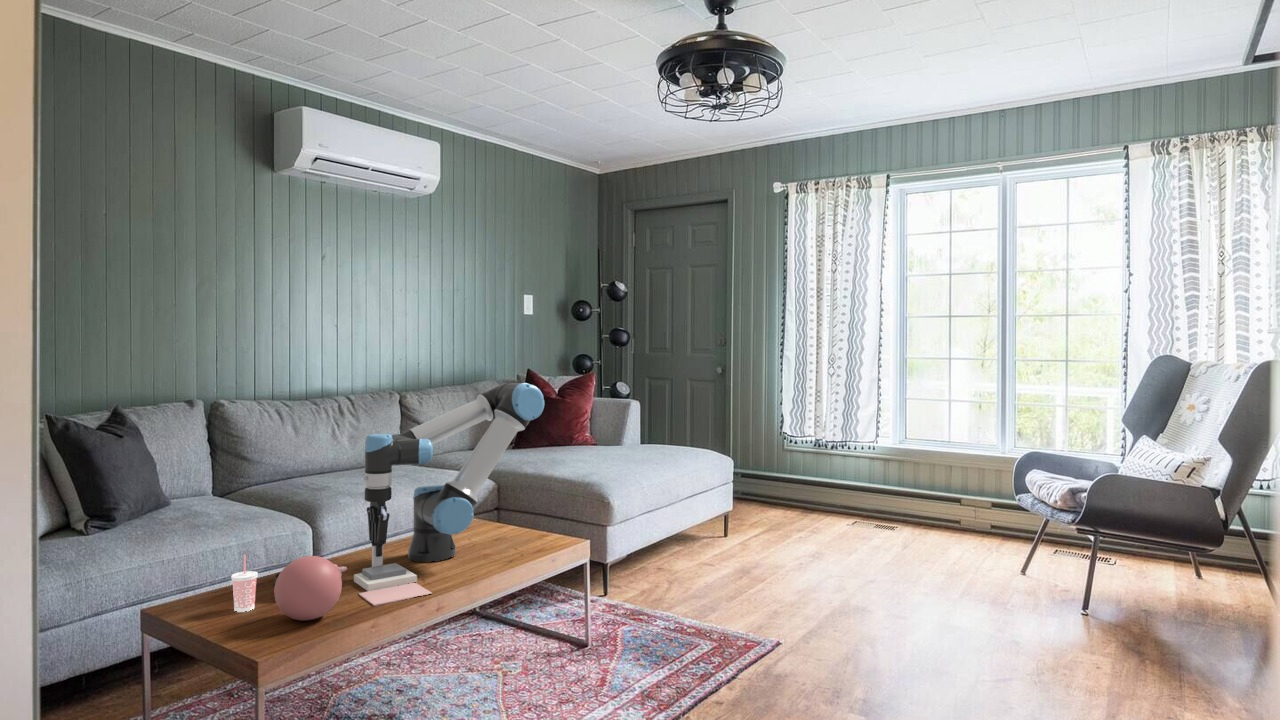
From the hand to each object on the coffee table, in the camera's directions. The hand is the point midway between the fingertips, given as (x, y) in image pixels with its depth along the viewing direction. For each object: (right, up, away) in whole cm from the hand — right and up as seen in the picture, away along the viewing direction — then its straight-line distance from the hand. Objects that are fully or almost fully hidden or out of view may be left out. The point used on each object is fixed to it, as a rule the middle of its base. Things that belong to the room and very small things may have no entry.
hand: (377, 566), depth 223 cm
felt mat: (+10, -3, -16) cm, 19 cm away
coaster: (+3, -1, -4) cm, 5 cm away
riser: (+4, -3, -4) cm, 7 cm away
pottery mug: (-16, -4, -17) cm, 24 cm away
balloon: (-4, -4, -33) cm, 33 cm away
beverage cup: (-24, -3, -28) cm, 38 cm away
